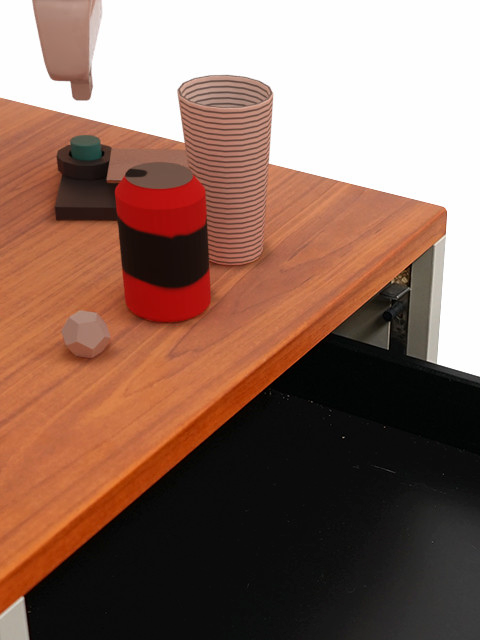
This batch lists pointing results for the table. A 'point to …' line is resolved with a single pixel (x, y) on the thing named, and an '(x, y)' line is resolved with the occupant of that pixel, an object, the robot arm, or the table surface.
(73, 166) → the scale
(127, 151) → the pan
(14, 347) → the table surface
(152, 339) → the table surface
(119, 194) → the soda can
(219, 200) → the cup
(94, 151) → the button
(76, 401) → the table surface
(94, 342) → the polyhedron
